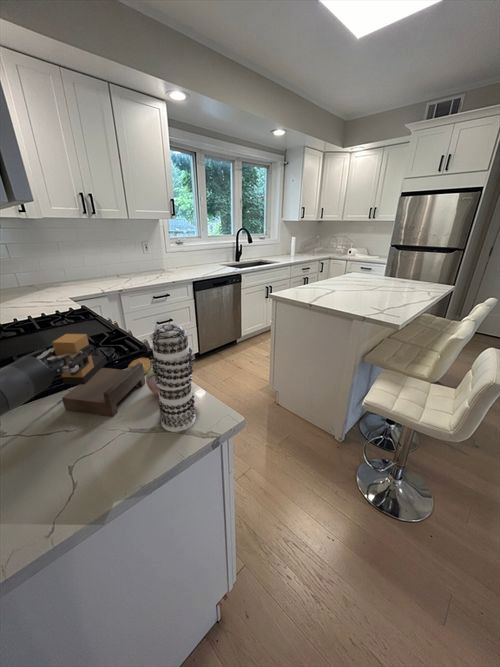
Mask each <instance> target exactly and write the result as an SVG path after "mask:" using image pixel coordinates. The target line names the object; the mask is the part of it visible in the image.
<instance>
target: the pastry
mask: <svg viewBox="0 0 500 667" xmlns="http://www.w3.org/2000/svg"><path fill="white" fill-rule="evenodd" d="M138 363H142V364H143V370H144V375H147V373H148V372H149V371H150V370H151V360H150V358H148V357H139V358H136V359H134V360H132V361H131V362H130V363H129V364H128V366H127V370H129V371H130V370H131V369H132V368H133V367H134V366H135V365H137V364H138Z"/></svg>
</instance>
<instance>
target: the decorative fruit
mask: <svg viewBox="0 0 500 667" xmlns="http://www.w3.org/2000/svg"><path fill="white" fill-rule="evenodd" d="M153 370H154V369H153V368H152V367H151V368H150V370H149V371H148V372H147V373H146V375H145V384H146V385H147V387H148V389H149V390H150V391H151V392H152V394H155V395H158V396H159V387H157V384H156V381H155V378H156V377H154V374H155V373H154V372H153Z"/></svg>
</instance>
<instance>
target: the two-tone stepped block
mask: <svg viewBox="0 0 500 667" xmlns="http://www.w3.org/2000/svg"><path fill="white" fill-rule="evenodd" d="M88 345H90V343H89V338H88V334H87V333H65V334H64V335H61V336H60V337H57V339H55V340H52V346H53V347H52V348H54V351H55V354H56V356H59V355H62V354H65V353H70V354H71V353H74V352H77V351H79V350H81V349H82V348H84V347H86V346H88ZM76 358H77V356H75V357H73V360H74V359H76ZM88 358H89V362H90V363H89V364H88V365H87V366H86V367H85V368H83V369H82V370H81V371H80V372H79V373H78V374H77V375H74V376H71V374H70V372H64V373H63V374H61V375H60V376H61V379H62V383H63V385H85V384H86V383H87V382H88V381H89V380H90V379H91V378H92V377H93V376H94V375H95V374H96V373H97V372H98V371H99V370H100V369H101V368H104V366H105V365H106V364H107V363H108V361H107V357H106V355H90V356H88ZM65 360H66V364H67V365H68V360H67V358H65ZM67 365H66V366H67Z"/></svg>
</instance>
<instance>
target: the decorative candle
mask: <svg viewBox="0 0 500 667" xmlns="http://www.w3.org/2000/svg"><path fill="white" fill-rule="evenodd" d="M188 336H189V332H188V330H186V329H184V328H183V327H182V326H181V325H178V324H164V325H160V326H158V327H156V328H155V329H154V331H153V332H152V333H151V334H150V335H149V338H150V340H151V341H152V346H153V347H152V355H150V358H149V359H151V360H150V364H152V367H151V369H152V368H153V369H154V370H153V372H154V373H155V374H154V377H156V378H155V381H156V384H157V387H159V395H158V400H157V401H158V407H159V408H158V409H159V416H160V423H161V426H162V428H163V429H164V430H166V431H168V432H172V433H175V432H177V433H178V432H183V431H186V430H188V429H189V428H191V427H192V426H193V425H194V423H195V422H196V418H197V417H196V414H197V413H196V411H195V409H196V406H195V402H196V401H195V395H194V392H193V391H194V390H193V387H192V382H193V377H194V376H193V372H194V369H193V366H194V364H193V362H192V361H193V359H194V357H193V355H192V354H193V349H192V348H191V347H190V345H189V341H188V340H189V339H188Z"/></svg>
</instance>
